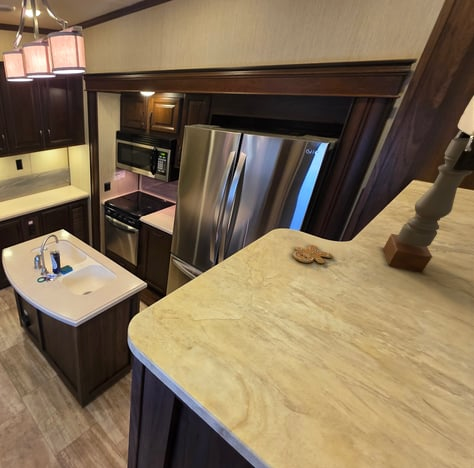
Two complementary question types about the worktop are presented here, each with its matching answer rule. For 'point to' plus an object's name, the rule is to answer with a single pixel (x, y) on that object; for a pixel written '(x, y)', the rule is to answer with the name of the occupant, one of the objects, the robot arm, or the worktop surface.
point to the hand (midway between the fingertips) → (457, 164)
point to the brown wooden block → (406, 254)
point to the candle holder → (436, 199)
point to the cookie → (310, 254)
